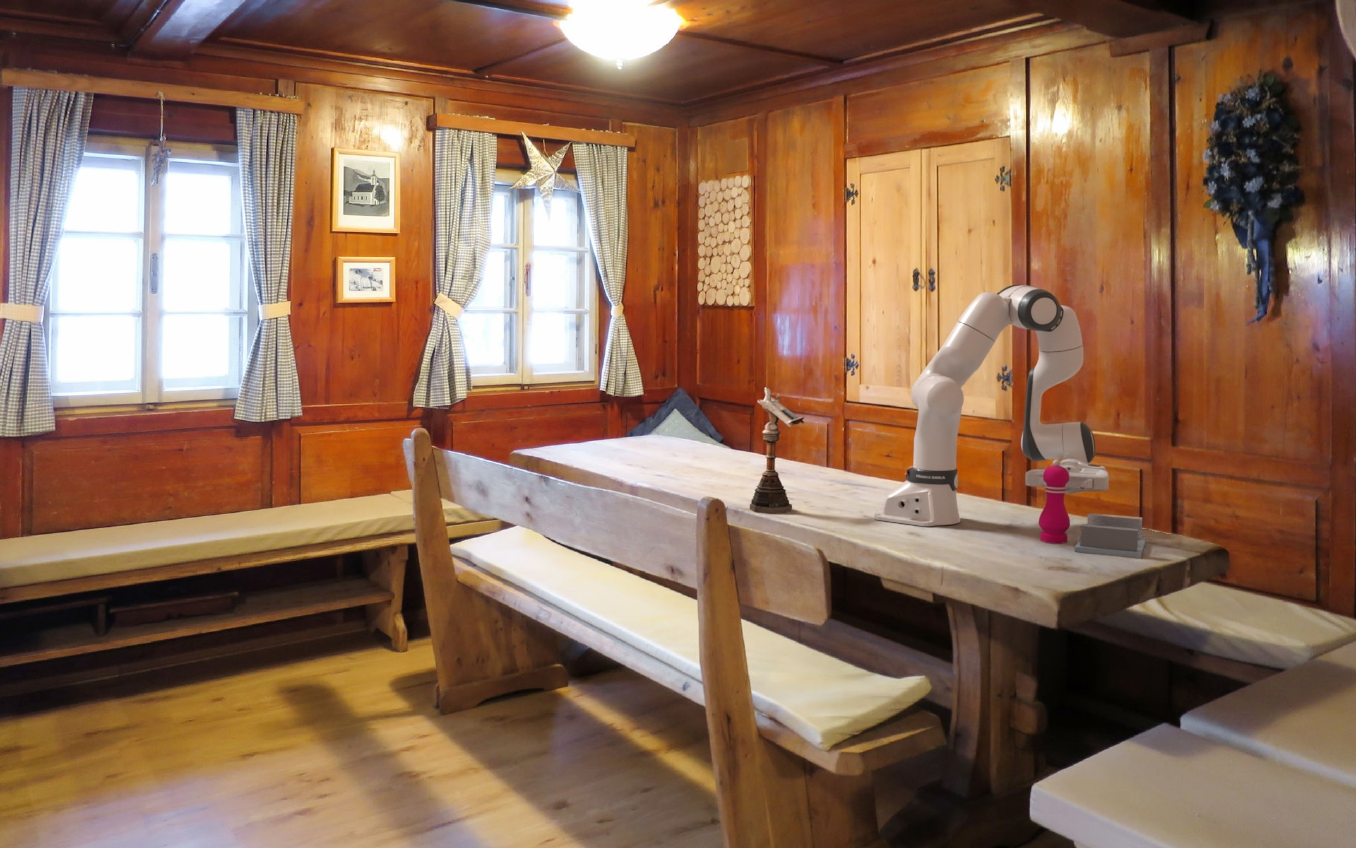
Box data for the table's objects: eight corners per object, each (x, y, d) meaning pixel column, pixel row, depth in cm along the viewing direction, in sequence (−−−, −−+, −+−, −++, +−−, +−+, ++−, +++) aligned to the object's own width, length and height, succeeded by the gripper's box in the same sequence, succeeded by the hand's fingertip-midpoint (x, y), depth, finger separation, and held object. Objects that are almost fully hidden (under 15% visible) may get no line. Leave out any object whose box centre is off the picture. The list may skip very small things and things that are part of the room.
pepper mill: (1038, 542, 245) (1041, 460, 243) (1037, 536, 252) (1040, 456, 250) (1070, 545, 243) (1073, 462, 241) (1068, 538, 250) (1071, 458, 248)
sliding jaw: (1087, 534, 249) (1087, 514, 249) (1088, 532, 251) (1088, 513, 251) (1140, 539, 244) (1141, 519, 243) (1141, 537, 246) (1142, 517, 245)
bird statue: (815, 508, 289) (817, 385, 285) (798, 516, 277) (800, 388, 274) (762, 503, 297) (763, 383, 293) (743, 511, 285) (744, 386, 282)
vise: (1074, 551, 236) (1076, 526, 236) (1084, 535, 253) (1085, 512, 253) (1141, 558, 230) (1142, 532, 229) (1145, 541, 247) (1147, 517, 246)
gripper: (1029, 462, 274) (1020, 469, 262) (1111, 466, 264) (1106, 474, 252) (1028, 485, 274) (1020, 493, 262) (1110, 490, 265) (1105, 499, 253)
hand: (1063, 484), depth 257 cm, fingers open, 8 cm apart
